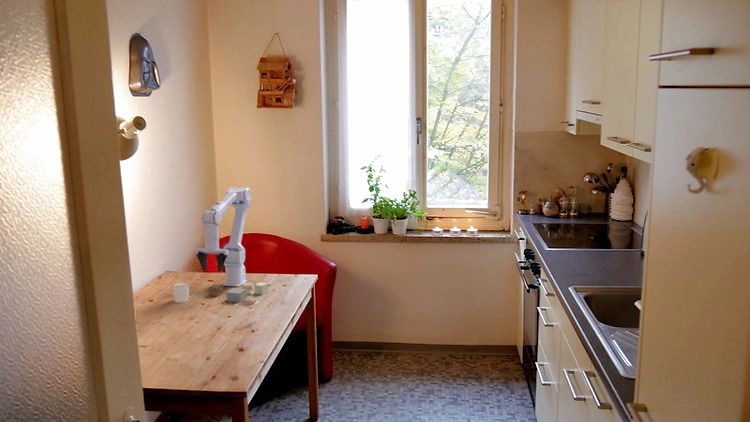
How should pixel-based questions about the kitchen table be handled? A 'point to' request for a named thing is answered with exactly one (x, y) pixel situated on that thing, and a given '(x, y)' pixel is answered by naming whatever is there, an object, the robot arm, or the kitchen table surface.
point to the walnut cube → (215, 290)
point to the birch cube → (248, 287)
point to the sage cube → (261, 288)
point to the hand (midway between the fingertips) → (212, 270)
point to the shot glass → (181, 292)
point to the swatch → (247, 303)
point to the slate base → (236, 295)
